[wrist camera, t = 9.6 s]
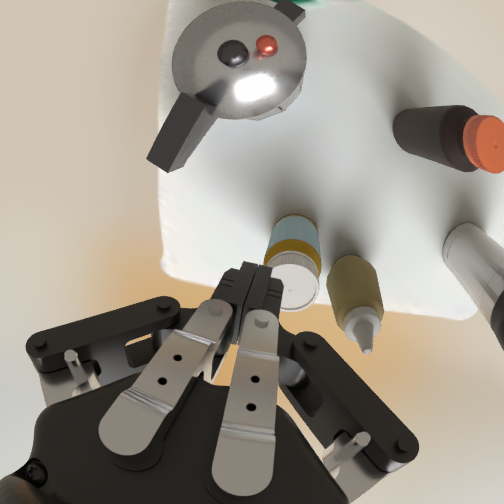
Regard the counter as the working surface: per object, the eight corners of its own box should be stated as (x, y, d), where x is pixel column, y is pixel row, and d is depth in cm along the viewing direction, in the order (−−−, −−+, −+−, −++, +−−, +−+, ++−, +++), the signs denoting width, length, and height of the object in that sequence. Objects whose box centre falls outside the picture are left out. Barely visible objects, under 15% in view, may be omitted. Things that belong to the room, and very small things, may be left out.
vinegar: (383, 134, 33) (454, 146, 15) (406, 99, 29) (486, 87, 12) (417, 163, 33) (497, 200, 15) (439, 129, 30) (527, 145, 12)
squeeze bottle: (333, 242, 41) (347, 316, 25) (379, 254, 40) (413, 328, 25) (318, 285, 45) (321, 368, 29) (362, 295, 44) (381, 376, 28)
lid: (220, -10, 20) (208, -26, 16) (332, 43, 21) (337, 30, 17) (131, 132, 29) (109, 135, 25) (225, 192, 31) (213, 203, 27)
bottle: (321, 217, 40) (330, 265, 26) (313, 258, 43) (315, 319, 30) (275, 209, 41) (260, 254, 27) (269, 251, 44) (253, 309, 30)
